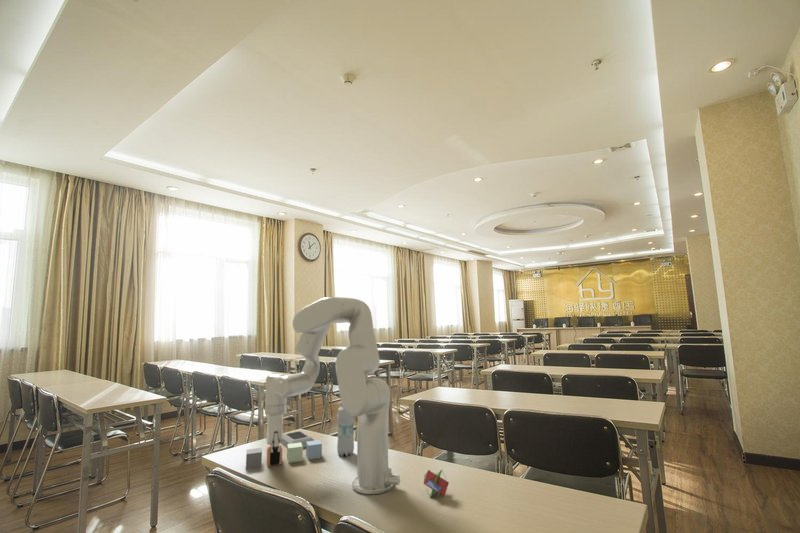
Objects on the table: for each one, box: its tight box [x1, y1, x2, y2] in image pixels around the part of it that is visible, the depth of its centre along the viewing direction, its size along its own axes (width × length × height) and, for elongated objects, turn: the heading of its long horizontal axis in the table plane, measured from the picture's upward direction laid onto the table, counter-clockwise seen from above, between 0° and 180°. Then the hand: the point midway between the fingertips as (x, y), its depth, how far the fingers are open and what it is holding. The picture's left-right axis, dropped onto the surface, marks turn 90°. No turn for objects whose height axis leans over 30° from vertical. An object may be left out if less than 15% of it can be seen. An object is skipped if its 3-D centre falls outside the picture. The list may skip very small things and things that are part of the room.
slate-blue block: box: [305, 439, 323, 460], centre depth 138 cm, size 5×5×5 cm
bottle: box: [336, 403, 355, 457], centre depth 141 cm, size 7×7×20 cm
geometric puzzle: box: [423, 469, 450, 497], centre depth 107 cm, size 7×7×8 cm
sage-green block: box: [286, 442, 304, 464], centre depth 136 cm, size 5×5×5 cm
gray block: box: [245, 447, 263, 470], centre depth 131 cm, size 5×5×5 cm
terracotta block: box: [266, 444, 283, 467], centre depth 133 cm, size 5×5×5 cm
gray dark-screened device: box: [280, 430, 315, 449], centre depth 154 cm, size 10×4×15 cm
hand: (274, 460), depth 133 cm, fingers closed on terracotta block, 5 cm apart
